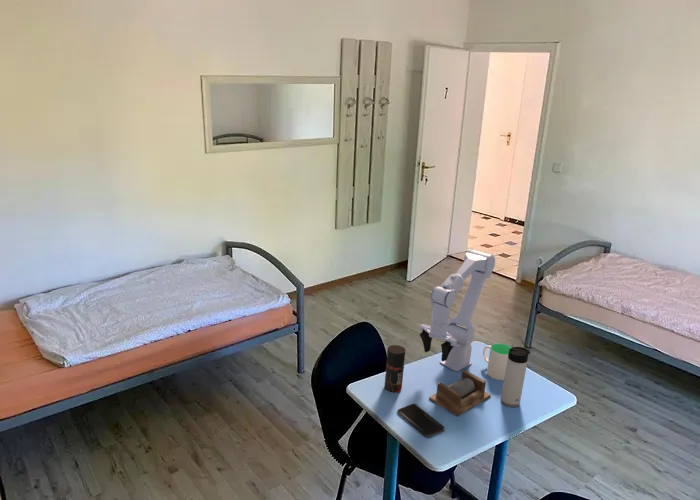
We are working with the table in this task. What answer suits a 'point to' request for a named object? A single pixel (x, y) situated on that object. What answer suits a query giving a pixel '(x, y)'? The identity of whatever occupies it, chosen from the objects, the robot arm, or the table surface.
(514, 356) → the travel mug
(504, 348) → the mug
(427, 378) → the table surface
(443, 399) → the cradle
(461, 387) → the roll
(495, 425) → the table surface
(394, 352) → the deodorant
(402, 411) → the phone
